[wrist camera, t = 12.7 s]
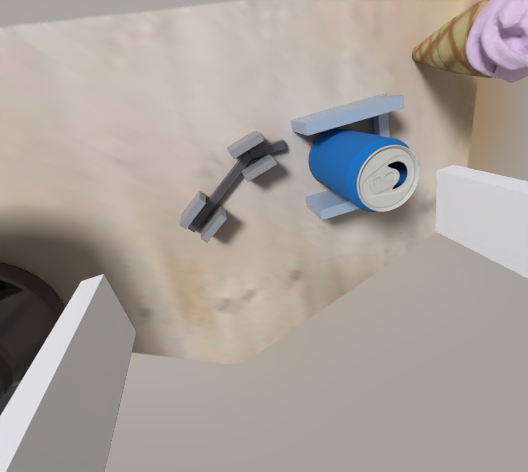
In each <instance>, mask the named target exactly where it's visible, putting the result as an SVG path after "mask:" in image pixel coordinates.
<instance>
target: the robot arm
mask: <svg viewBox="0 0 528 472" xmlns="http://www.w3.org/2000/svg"><path fill="white" fill-rule="evenodd" d="M436 232H438V233H440V234H442V235H444V236H446V237H448V238H450V239H452V240H453V241H456V242H457V243H460V244H461V245H463V246H465V247H467V248H469V249H471V250H473V251H475V252H477V253H479V254H481V255H483V256H485V257H487V258H489V259H491V260H493V261H495V262H497V263H499V264H501V265H503V266H505V267H506V268H508V269H511V270H512V271H514V272H516V273H518V274H520V275H522V276H524V277H526V278H528V182H527V181H523V180H519V179H514V178H510V177H504V176H501V175H496V174H492V173H487V172H483V171H478V170H474V169H469V168H465V167H461V166H456V165H452V166H449V167H446V168H443V169H440V170H437V195H436ZM135 335H136V331H135V329H134V327H133V326H132V324H131V322H130V320H129V318H128V317H127V315H126V313H125V311H124V309H123V308H122V306H121V304H120V302H119V300H118V299H117V297H116V295H115V293H114V291H113V290H112V288H111V286H110V284H109V282H108V281H107V279H106V277H105V275H104V274H102V275H99V276H96V277H93V278H89V279H86V280H83V281H81V283H80V284H79V286H78V288H77V289H76V291H75V293H74V294H73V296H72V298H71V299H70V301H69V303H68V304H67V306H66V308H64V306H63V303H62V302H61V300H60V298H59V297H58V295H57V294H56V293H55V292H54V291H53V290H52V289H51V288H50V287H49V286H48V285H47V284H46V283H45V282H43V281H42V280H41V279H39V278H38V277H36V276H34V275H33V274H31V273H29V272H27V271H24V270H22V269H20V268H17V267H14V266H11V265H7V264H3V263H0V472H105V468H106V463H107V458H108V454H109V449H110V445H111V441H112V437H113V432H114V428H115V423H116V419H117V414H118V410H119V406H120V401H121V397H122V392H123V388H124V384H125V379H126V375H127V370H128V366H129V361H130V357H131V353H132V348H133V344H134V339H135Z"/></svg>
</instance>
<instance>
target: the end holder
mask: <svg viewBox="0 0 528 472" xmlns="http://www.w3.org/2000/svg"><path fill="white" fill-rule="evenodd" d="M402 108H404V96H403V95H391V96H388V95H387V94H385V95H379V96H375V97H372V98H368V99H364V100H361V101H357V102H354V103H350V104H347V105H343V106H340V107H336V108H333V109H329V110H326V111H322V112H319V113H315V114H311V115H308V116H304V117H301V118H297V119H294V120H291V123H292V129H293V132H297V133H300V134H303V135H306V136H308V135H312V134H315V133H319V132H322V131H326V130H329V129H333V128H336V127H340V126H343V125H346V124H350V123H353V122H357V121H360V120H364V119H367V118H371V117H373V121H374V134H375V135H379V136H384V137H390V131H389V113H388V112H392V111H395V110H399V109H402ZM306 202H307V206H308V207H309V208H310V209H311V210H312V211H313V212H314V213H315V214H316V215H317V216H318V217H319V218H320V219H321V220H325V219H328V218H331V217H334V216H338V215H341V214H344V213H347V212H350V211H354V210H357V209H360V208H358V207H357V206H355V205H354V204H352V203H351V202H349V201H348V200H346V199H345V198H343V197H342V196H340V195H339V194H337V193H336V192H334V191H333V190H329V191H326V192H322V193H319V194H316V195H312V196H309V197H306Z"/></svg>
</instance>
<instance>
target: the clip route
mask: <svg viewBox="0 0 528 472" xmlns="http://www.w3.org/2000/svg"><path fill="white" fill-rule="evenodd" d="M262 141H264V139H263V137H262V135H261V133H259V132H257V131H253V132H252V133H250V134H249V135H247V136H245V137H244V138H242V139H240V140H239V141H237V142H235V143H234V144H232V145H231V146H229V147H227V148H228V150H229V152H230V154H231V155H232V157H233V158H236V157H238V156H239V155H241V154H243V153H244V152H245V153H244V154H243V155H242V157H241V158H240V159H239V161H238V162H237V163H236V164H235V166H234V167H233V168H232V170H231V171H230V172H229V173H228V175H227V176H226V177H225V178H224V180H223V181H222V182H221V184H220V185H219V186H218V187H217V189H216V190H215V191H214V193H213V194H212V195H211V196H210V198H209V199H208V200H207V201H206V196H205V195H204V194H203V193H202V192H200V191H199V193H198V194H197V195H196V196H195V198H194V199H193V200H192V202H191V203H190V204H189V206H188V207H187V208H186V209H185V211H184V212H183V213H182V215H181V219H180V226H182V227H183V228H185V229H186V228H187V227H188V229H189V230H191V231H193V232H195V231H196V229H197V228H198V227H199V225H200V224H201V223H202V222H203V220H204V219H205V218H206V217H207V215H208V214H209V213H210V212H211V210H212V209H213V208H214V207H215V205H216V204H217V203H218V202H219V200H220V199H221V198H222V196H223V195H224V194H225V193H226V191H227V190H228V189H229V188H230V186H231V185H232V184H233V183H234V181H235V180H236V179H237V178H238V176H239V175H240V174H241V173H242V174H243V175H244V177H245V179H246V180H247V182H249V181H250V180H252V179H254V178H255V177H257V176H258V175H260V174H262V173H263V172H265V171H267V170H268V169H270V168H272V167H273V166H275V165H277V164H276V162H275V160H274V158H273V157H272V156H271V155H269V154H270V153H273V152H277V151H280V150H284V149H286V147H285V142H284V140H280V141H276V142H273V143H269V144H266V145H262V146H259V147H255V148H252V147H254V146H256V145H257V144H259V143H261V142H262ZM251 148H252V149H251ZM246 151H249V153H248V152H246ZM260 156H262V157H260ZM256 157H260V158H258V159H257V160H255V161H253V162H252V163H250V164H249V162H250V161H251V160H252V159H253V158H256ZM226 219H227V216H226V212H225V209H224V208H223V207H221V206H220V205H219V206H218V208H217V209H216V210H215V211H214V213H213V214H212V215H211V216H210V218H209V219H208V220H207V221H206V223H205V224H204V225H203V226H202V228H201V239H202V240H204V241H205V242H208V241H209V240H210V239H211V237H212V236H213V235H214V234H215V233H216V231H217V230H218V229H219V228H220V226H221V225H222V224H223V223H224V221H225V220H226Z"/></svg>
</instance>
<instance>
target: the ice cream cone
mask: <svg viewBox="0 0 528 472" xmlns="http://www.w3.org/2000/svg"><path fill="white" fill-rule="evenodd" d="M412 58H413V60H415V61H417V62H420V63H423V64H427V65H430V66H433V67H436V68H439V69H443V70H446V71H451V72H455V73H460V74H466V75H473V76H480V77H488V78H491V77H495V78H499V79H504V80H506V81H507V82H515V81H518V80H520V79H522V78H524V77H526V76H528V0H482V1H480V2H478V3H477V4H475V5H474V6H472V7H470V8H469V9H467V10H465V11H464V12H462V13H461V14H459V15H458V16H457V17H455V18H454V19H452V20H451V21H449V22H448V23H447V24H445V25H444V26H443V27H441V28H440V29H439V30H437V31H436V32H435V33H433V34H432V35H431V36H430V37H428V38H427V39H426V40H425V41H423V42H422V43H421V44H420V45H418V46H417V47H416V48H415V49H414V50H413V53H412Z"/></svg>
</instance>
